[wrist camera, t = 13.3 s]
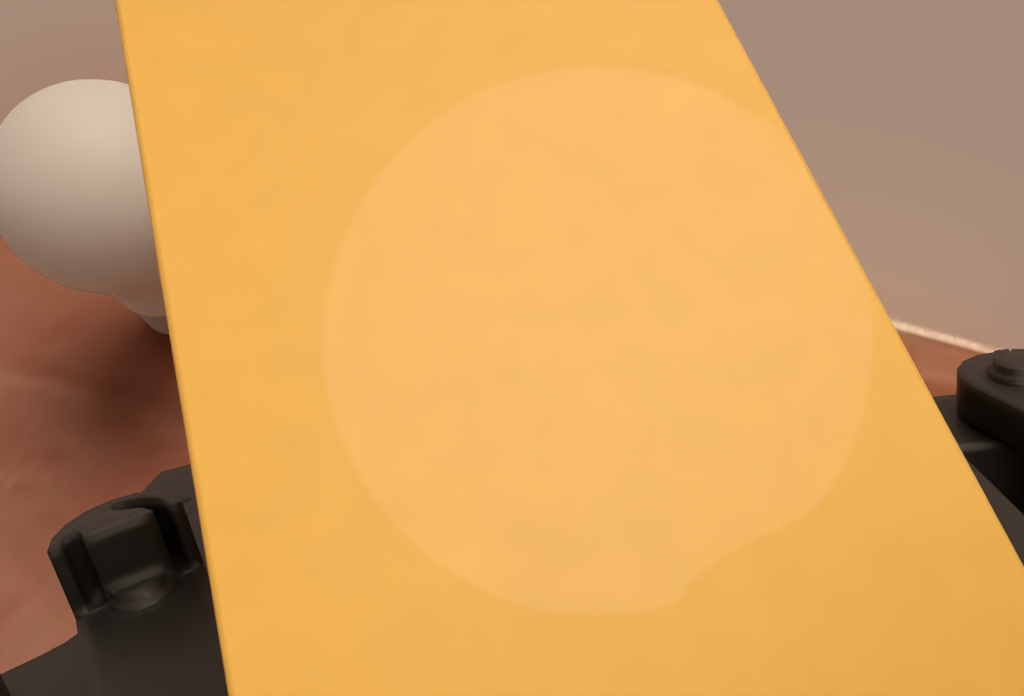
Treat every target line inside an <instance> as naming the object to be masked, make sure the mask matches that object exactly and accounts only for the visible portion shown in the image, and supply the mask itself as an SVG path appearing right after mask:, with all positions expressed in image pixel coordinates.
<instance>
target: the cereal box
mask: <svg viewBox="0 0 1024 696" xmlns="http://www.w3.org/2000/svg"><path fill="white" fill-rule="evenodd" d="M115 5H116V11H117V17H118V23H119V29H120V35H121V42H122V48H123V54H124V60H125V66H126V72H127V78H128V85H129V91H130V97H131V103H132V109H133V115H134V121H135V128H136V134H137V140H138V146H139V152H140V158H141V164H142V171H143V177H144V183H145V189H146V195H147V201H148V207H149V213H150V220H151V226H152V232H153V238H154V244H155V250H156V256H157V263H158V269H159V275H160V281H161V287H162V293H163V299H164V306H165V312H166V318H167V324H168V330H169V336H170V342H171V349H172V355H173V361H174V367H175V373H176V379H177V385H178V392H179V398H180V404H181V410H182V416H183V422H184V428H185V435H186V441H187V447H188V453H189V459H190V465H191V471H192V477H193V484H194V490H195V496H196V502H197V508H198V514H199V520H200V527H201V533H202V539H203V545H204V551H205V557H206V563H207V570H208V576H209V582H210V588H211V594H212V600H213V606H214V613H215V619H216V625H217V631H218V637H219V643H220V649H221V656H222V662H223V668H224V674H225V680H226V686H227V692H228V696H1024V566H1023V564H1022V562H1021V560H1020V558H1019V557H1018V555H1017V553H1016V551H1015V549H1014V547H1013V546H1012V544H1011V542H1010V540H1009V538H1008V536H1007V534H1006V533H1005V531H1004V529H1003V527H1002V525H1001V523H1000V522H999V520H998V518H997V516H996V514H995V512H994V510H993V509H992V507H991V505H990V503H989V501H988V499H987V497H986V496H985V494H984V492H983V490H982V488H981V486H980V485H979V483H978V481H977V479H976V477H975V475H974V473H973V472H972V470H971V468H970V466H969V464H968V462H967V461H966V459H965V457H964V455H963V453H962V451H961V449H960V448H959V446H958V444H957V442H956V440H955V438H954V437H953V435H952V433H951V431H950V429H949V427H948V425H947V424H946V422H945V420H944V418H943V416H942V414H941V412H940V411H939V409H938V407H937V405H936V403H935V401H934V400H933V398H932V396H931V394H930V392H929V390H928V388H927V387H926V385H925V383H924V381H923V379H922V377H921V376H920V374H919V372H918V370H917V368H916V366H915V364H914V363H913V361H912V359H911V357H910V355H909V353H908V352H907V350H906V348H905V346H904V344H903V342H902V340H901V339H900V337H899V335H898V333H897V331H896V329H895V327H894V326H893V324H892V322H891V320H890V318H889V316H888V315H887V313H886V311H885V309H884V307H883V305H882V303H881V302H880V300H879V298H878V296H877V294H876V292H875V291H874V289H873V287H872V285H871V283H870V282H869V280H868V278H867V276H866V274H865V272H864V270H863V269H862V267H861V265H860V263H859V261H858V259H857V257H856V255H855V254H854V252H853V250H852V248H851V246H850V244H849V242H848V241H847V239H846V237H845V235H844V233H843V231H842V230H841V228H840V226H839V224H838V222H837V221H836V218H835V217H834V215H833V213H832V211H831V209H830V207H829V206H828V204H827V202H826V200H825V198H824V196H823V194H822V193H821V191H820V189H819V187H818V185H817V183H816V181H815V180H814V178H813V176H812V174H811V172H810V171H809V169H808V167H807V165H806V163H805V161H804V159H803V157H802V156H801V154H800V152H799V150H798V148H797V146H796V145H795V143H794V141H793V139H792V137H791V136H790V134H789V132H788V130H787V128H786V126H785V124H784V122H783V121H782V119H781V117H780V115H779V113H778V111H777V110H776V108H775V106H774V104H773V102H772V100H771V98H770V97H769V95H768V93H767V91H766V89H765V87H764V86H763V84H762V82H761V80H760V78H759V76H758V74H757V72H756V71H755V69H754V67H753V65H752V63H751V61H750V60H749V58H748V56H747V54H746V52H745V50H744V48H743V47H742V45H741V43H740V41H739V39H738V37H737V36H736V34H735V32H734V30H733V28H732V26H731V24H730V23H729V21H728V19H727V17H726V15H725V13H724V11H723V10H722V8H721V6H720V4H719V2H718V0H115Z"/></svg>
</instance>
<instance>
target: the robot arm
mask: <svg viewBox="0 0 1024 696" xmlns="http://www.w3.org/2000/svg"><path fill="white" fill-rule="evenodd" d="M932 398H933V400H934V401H935V403H936V405H937V407H938V409H939V411H940V412H941V414H942V416H943V418H944V420H945V422H946V424H947V425H948V427H949V429H950V431H951V433H952V435H953V437H954V438H955V440H956V442H957V444H958V446H959V448H960V449H961V451H962V453H963V455H964V457H965V459H966V461H967V462H968V464H969V466H970V468H971V470H972V472H973V473H974V475H975V477H976V479H977V481H978V483H979V485H980V486H981V488H982V490H983V492H984V494H985V496H986V497H987V499H988V501H989V503H990V505H991V507H992V509H993V510H994V512H995V514H996V516H997V518H998V520H999V522H1000V523H1001V525H1002V527H1003V529H1004V531H1005V533H1006V534H1007V536H1008V538H1009V540H1010V542H1011V544H1012V546H1013V547H1014V549H1015V551H1016V553H1017V555H1018V557H1019V558H1020V560H1021V562H1022V564H1023V566H1024V350H1023V349H1012V350H1011V351H1009V349H1005V350H996V351H994V352H993V353H987V354H981V355H977V356H975V357H972V358H970V359H967V360H965V361H963V363H962V364H961V365H960V366H959V367H958V369H957V395H947V396H938V397H932ZM47 553H48V555H49V558H50V560H51V562H52V564H53V567H54V569H55V571H56V574H57V576H58V578H59V581H60V583H61V585H62V588H63V590H64V592H65V595H66V597H67V599H68V602H69V604H70V606H71V609H72V611H73V613H74V616H75V618H76V624H77V632H78V634H77V635H75V636H74V637H72V638H71V639H69V640H68V641H67V642H65V643H64V644H62V645H60V646H58V647H56V648H54V649H52V650H51V651H49V652H47V653H45V654H43V655H41V656H39V657H37V658H35V659H32V660H30V661H28V662H26V663H24V664H22V665H20V666H18V667H15V668H13V669H11V670H9V671H7V672H5V673H3V674H1V675H0V696H228V692H227V686H226V680H225V674H224V668H223V662H222V656H221V649H220V643H219V637H218V631H217V625H216V619H215V613H214V606H213V600H212V594H211V588H210V582H209V576H208V570H207V563H206V557H205V551H204V545H203V539H202V533H201V527H200V520H199V514H198V508H197V502H196V496H195V490H194V484H193V477H192V471H191V465H187V466H183V467H179V468H175V469H171V470H167V471H163V472H161V473H160V474H159V475H158V476H157V477H156V478H155V479H154V480H153V481H152V482H151V483H150V484H149V485H148V486H147V487H146V489H145V490H144V491H143V492H142V493H135V494H131V495H128V496H124V497H121V498H117V499H114V500H110V501H108V502H106V503H104V504H101V505H99V506H97V507H95V508H92V509H90V510H88V511H86V512H84V513H83V514H81V515H80V516H78V517H77V518H75V519H74V520H72V521H71V522H69V523H67V524H66V525H65V526H64V527H63V528H62V529H61V530H60V531H59V532H58V533H57V534H56V535H55V536H54V537H53V538H52V539H51V542H50V545H49V548H48V551H47Z"/></svg>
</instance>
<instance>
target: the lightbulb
mask: <svg viewBox="0 0 1024 696" xmlns="http://www.w3.org/2000/svg"><path fill="white" fill-rule="evenodd" d="M0 235H1V236H2V238H3V239H4V241H5V243H6V244H7V245H8V246H9V248H10V249H11V250H12V251H13V252H14V253H15V254H16V255H17V256H18V257H19V258H20V259H21V260H22V261H23V262H24V263H25V264H26V265H28V266H29V267H30V268H32V269H33V270H35V271H37V272H39V273H40V274H42V275H44V276H46V277H47V278H49V279H51V280H53V281H54V282H56V283H58V284H60V285H63V286H66V287H69V288H72V289H75V290H79V291H85V292H92V293H98V294H106V295H113V296H115V297H116V298H117V300H118V301H119V302H120V303H121V304H122V305H124V306H125V307H126V308H128V309H129V310H131V311H133V312H135V313H138V315H139V316H140V317H141V318H142V319H143V320H144V321H145V322H146V323H147V324H148V325H149V326H150V327H151V328H152V329H154V330H156V331H157V332H160V333H163V334H168V335H169V330H168V324H167V318H166V312H165V306H164V299H163V293H162V287H161V281H160V275H159V269H158V263H157V256H156V250H155V244H154V238H153V232H152V226H151V220H150V213H149V207H148V201H147V195H146V189H145V183H144V177H143V171H142V164H141V158H140V152H139V146H138V140H137V134H136V128H135V121H134V115H133V109H132V103H131V97H130V91H129V85H128V84H124V83H121V82H116V81H108V80H99V79H79V80H73V81H66V82H62V83H59V84H55V85H52V86H49V87H46V88H44V89H42V90H40V91H38V92H36V93H34V94H32V95H31V96H29V97H28V98H26V99H25V100H23V101H22V102H21V103H20V104H19V105H17V106H16V107H15V108H14V109H13V110H12V111H11V112H10V113H9V115H8V116H7V117H6V119H5V120H4V121H3V123H2V124H1V125H0Z"/></svg>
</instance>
